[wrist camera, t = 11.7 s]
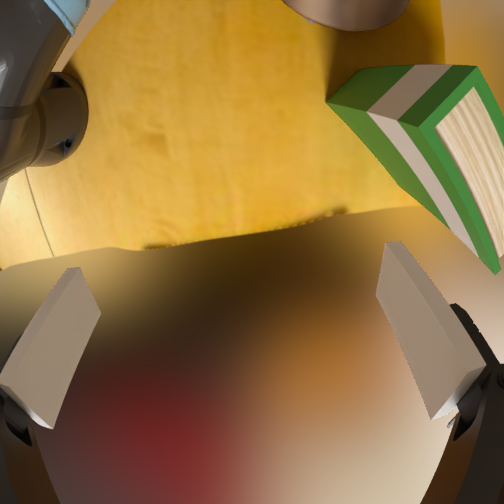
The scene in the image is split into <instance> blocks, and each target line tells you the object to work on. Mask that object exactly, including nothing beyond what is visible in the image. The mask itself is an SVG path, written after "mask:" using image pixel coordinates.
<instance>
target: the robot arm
mask: <svg viewBox="0 0 504 504" xmlns="http://www.w3.org/2000/svg"><path fill="white" fill-rule="evenodd" d="M89 5H90V0H0V183H1V182H2V181H4V180H6V179H7V178H9V177H11V176H12V175H14V174H16V173H17V172H19V171H21V170H22V169H24V168H26V167H45V166H51V165H54V164H57V163H59V162H61V161H63V160H64V159H66V158H68V157H69V156H70V155H71V154H73V153H74V151H75V150H76V149H77V148H78V146H79V145H80V143H81V141H82V139H83V137H84V134H85V131H86V127H87V122H88V104H87V99H86V96H85V93H84V91H83V89H82V87H81V85H80V84H79V83H78V81H77V80H76V79H75V78H73V77H72V76H70V75H69V74H66V73H63V72H51V71H52V69H53V67H54V65H55V64H56V61H57V60H58V58H59V56H60V54H61V53H62V51H63V49H64V48H65V46H66V44H67V43H68V41H69V39H70V38H71V36H74V34H75V29H76V27H77V26H78V24H79V22H80V21H81V19H82V18H83V16H84V14H85V13H86V11H87V10H88V8H89ZM376 296H377V298H378V300H379V302H380V304H381V306H382V309H383V311H384V312H385V315H386V317H387V319H388V321H389V323H390V325H391V327H392V329H393V331H394V333H395V335H396V338H397V340H398V342H399V344H400V346H401V349H402V351H403V353H404V355H405V357H406V360H407V362H408V364H409V366H410V369H411V371H412V374H413V376H414V379H415V381H416V383H417V386H418V388H419V391H420V393H421V396H422V398H423V400H424V403H425V406H426V408H427V411H428V414H429V417H430V419H431V420H433V419H436V418H439V417H441V416H444V415H447V414H449V413H450V412H451V411H452V409H453V408H454V407H455V406H456V405H457V407H458V409H459V412H458V413H457V414H456V416H455V417H454V418H453V419H452V420H451V421H450V422H449V424H448V425H447V428H449V427H450V426H451V425H452V424H453V423H454V424H453V428H452V431H451V434H450V436H449V439H448V442H447V445H446V447H445V450H444V453H443V455H442V458H441V460H440V463H439V465H438V467H437V470H436V472H435V474H434V476H433V479H432V481H431V483H430V485H429V487H428V489H427V491H426V494H425V496H424V497H423V499H422V501H421V503H420V504H504V364H500V363H499V361H498V360H497V358H496V357H495V355H494V353H493V352H492V350H491V348H490V347H489V345H488V343H487V342H486V340H485V339H484V337H483V336H482V334H481V333H480V332H479V329H478V328H477V326H476V325H475V324H473V320H472V319H471V318H470V316H469V315H468V313H467V312H466V311H465V310H464V309H463V308H461V307H460V306H459V305H457V304H456V303H455V304H450V305H449V304H448V303H447V301H446V300H445V298H444V297H443V296H442V294H441V293H440V291H439V290H438V289H437V287H436V286H435V285H434V283H433V282H432V280H431V279H430V278H429V276H428V275H427V274H426V272H425V271H424V270H423V268H422V267H421V266H420V264H419V263H418V262H417V260H416V259H415V258H414V257H413V255H412V254H411V253H410V252H409V250H408V249H407V248H406V247H405V245H404V244H403V243H402V242H401V241H399V242H387V243H385V248H384V254H383V260H382V265H381V270H380V276H379V281H378V286H377V291H376ZM100 315H101V312H100V310H99V308H98V306H97V304H96V302H95V300H94V298H93V296H92V293H91V291H90V289H89V287H88V285H87V282H86V280H85V278H84V276H83V273H82V271H81V269H80V267H78V268H68V269H67V270H66V271H65V273H64V274H63V275H62V277H61V278H60V279H59V281H58V282H57V284H56V285H55V286H54V288H53V289H52V290H51V292H50V293H49V295H48V296H47V298H46V299H45V301H44V302H43V303H42V305H41V307H40V308H39V310H38V311H37V312H36V314H35V316H34V317H33V319H32V320H31V322H30V323H29V325H28V327H27V328H26V330H25V332H23V333H22V334H21V336H19V338H18V339H17V340H16V342H15V344H14V345H13V347H12V350H10V352H9V354H8V357H7V358H6V359H5V361H4V363H3V365H2V366H1V368H0V504H60V502H59V499H58V497H57V495H56V493H55V490H54V488H53V485H52V483H51V480H50V478H49V475H48V472H47V470H46V467H45V464H44V461H43V458H42V455H41V452H40V449H39V446H38V443H37V439H36V436H35V432H34V429H33V426H32V424H31V423H29V420H30V417H31V418H32V419H33V420H34V421H36V422H37V423H38V424H39V425H42V426H44V427H47V428H51V429H53V427H54V425H55V421H56V419H57V416H58V413H59V410H60V407H61V405H62V402H63V400H64V397H65V394H66V392H67V389H68V387H69V384H70V382H71V379H72V377H73V374H74V372H75V370H76V367H77V365H78V362H79V360H80V358H81V356H82V353H83V350H84V349H85V347H86V344H87V342H88V340H89V338H90V336H91V333H92V331H93V329H94V327H95V324H96V323H97V321H98V319H99V317H100Z"/></svg>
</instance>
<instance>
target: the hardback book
mask: <svg viewBox="0 0 504 504" xmlns="http://www.w3.org/2000/svg"><path fill="white" fill-rule="evenodd" d="M325 103H326V104H327V105H328V106H329V107H330V108H331V109H332V110H333V111H334V112H335V113H336V114H337V115H338V116H339V117H340V118H341V119H342V120H343V121H344V122H345V123H346V124H347V125H348V126H349V127H350V128H351V129H352V130H353V132H354V133H355V134H356V135H357V136H358V137H359V138H360V139H361V140H362V142H363V143H364V144H365V145H366V146H367V147H368V148H369V150H370V151H371V152H372V153H373V154H374V155H375V157H376V158H377V159H378V160H379V161H380V163H381V164H382V165H383V166H384V167H385V169H386V170H387V171H388V172H389V174H390V175H391V176H392V177H393V179H394V180H395V181H396V183H397V184H398V185H399V186H400V187H401V188H402V189H403V190H405V191H406V192H407V193H408V194H410V195H411V196H412V197H413V198H414V199H416V200H417V201H418V202H419V203H420V204H422V205H423V206H424V207H425V208H426V209H427V210H429V211H430V212H431V213H432V214H433V215H434V216H436V217H437V218H438V219H439V220H440V221H441V222H442V223H443V224H445V225H446V226H447V227H448V228H449V229H450V230H451V231H452V232H453V233H454V234H455V235H456V236H457V237H458V238H459V239H460V240H461V241H463V242H464V243H465V244H466V245H467V246H468V247H469V248H470V249H471V250H472V251H473V252H474V253H475V254H476V255H477V256H478V257H479V259H481V261H482V262H483V263H484V264H485V265H486V266H487V267H488V268H489V269H490V270H491V271H492V272H493V273H494V274H495V275H496V274H497V273H498V272H499V271H500V270H501V267H500V264H499V261H498V259H499V258H500V257H501V256H502V255H503V254H504V117H503V115H502V112H501V110H500V108H499V106H498V104H497V102H496V100H495V98H494V96H493V94H492V92H491V90H490V88H489V86H488V84H487V82H486V81H485V79H484V77H483V75H482V74H481V72H480V70H479V68H478V67H477V66H469V65H436V64H433V65H399V66H384V67H373V68H363V69H360V70H358V71H357V72H356V73H355V74H354V75H353V76H352V77H351V78H350V79H349V80H348V81H347V82H346V83H345V84H344V85H343V86H342V87H340V88H339V89H338V90H337V91H336V92H335V93H334V94H333V95H332V96H331V97H330V98H329V99H328V100H327V101H326V102H325Z"/></svg>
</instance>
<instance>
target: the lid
mask: <svg viewBox="0 0 504 504" xmlns="http://www.w3.org/2000/svg"><path fill="white" fill-rule="evenodd" d="M282 1H283V2H284V3H285V4H286V5H287V6H288V7H290V8H291V9H293V10H294V11H295V12H297V13H298V14H300V15H302V16H303V17H305V18H307V19H309V20H311V21H313V22H315V23H318V24H320V25H323V26H326V27H330V28H333V29H338V30H343V31H368V30H373V29H377V28H380V27H383V26H385V25H388V24H390V23H392V22H393V21H395V20H396V19H397V18H399V17H400V16H401V15H402V13H403V12H404V11H405V9H406V7H407V5H408V3H409V0H282Z"/></svg>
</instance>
